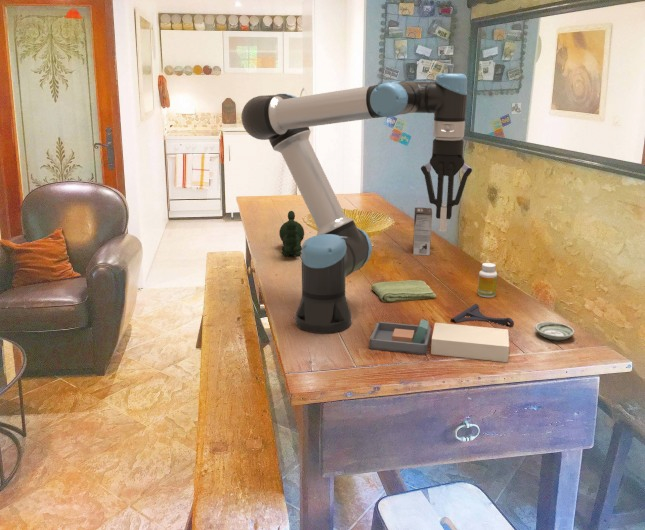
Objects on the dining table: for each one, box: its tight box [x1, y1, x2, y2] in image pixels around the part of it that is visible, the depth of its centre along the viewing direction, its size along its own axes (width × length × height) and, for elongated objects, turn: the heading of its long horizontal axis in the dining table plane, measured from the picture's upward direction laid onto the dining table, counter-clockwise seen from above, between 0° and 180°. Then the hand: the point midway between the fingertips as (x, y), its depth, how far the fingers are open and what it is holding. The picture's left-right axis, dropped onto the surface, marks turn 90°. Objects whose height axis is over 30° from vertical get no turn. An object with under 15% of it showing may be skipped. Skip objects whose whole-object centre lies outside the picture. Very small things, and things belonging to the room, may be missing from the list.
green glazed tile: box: [412, 318, 430, 344], centre depth 158 cm, size 5×5×2 cm
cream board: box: [430, 322, 510, 363], centre depth 156 cm, size 18×11×4 cm, turn 76°
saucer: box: [534, 321, 575, 341], centre depth 164 cm, size 10×10×2 cm
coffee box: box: [412, 207, 433, 256], centre depth 237 cm, size 9×6×16 cm
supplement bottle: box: [477, 262, 498, 298], centre depth 193 cm, size 5×5×10 cm
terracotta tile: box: [392, 328, 414, 343], centre depth 160 cm, size 5×5×2 cm
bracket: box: [450, 303, 515, 328], centre depth 174 cm, size 14×15×3 cm
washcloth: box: [370, 279, 437, 303], centre depth 194 cm, size 13×18×3 cm
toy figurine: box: [278, 210, 305, 258], centre depth 235 cm, size 9×19×25 cm
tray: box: [368, 321, 432, 356], centre depth 160 cm, size 14×12×2 cm
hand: (442, 230), depth 164 cm, fingers closed
